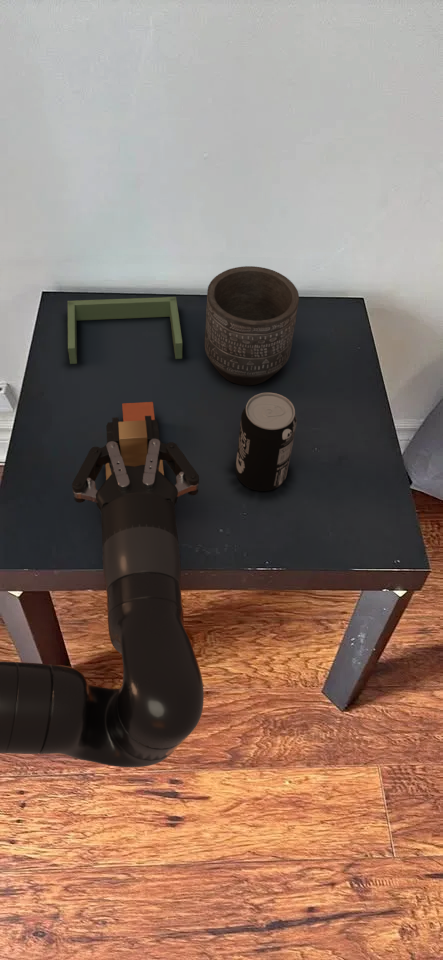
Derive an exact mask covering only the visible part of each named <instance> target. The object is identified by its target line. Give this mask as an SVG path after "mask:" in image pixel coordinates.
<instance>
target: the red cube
mask: <svg viewBox="0 0 443 960" xmlns="http://www.w3.org/2000/svg"><path fill="white" fill-rule="evenodd" d="M121 405H122V406H121V408H122V422H124V421H142V420H145V416H151V420H156V419H155V418H156V417H155V409H154V408H155V406H154V402H153V401H141V402H126V403H125V402H124V403H122V404H121Z"/></svg>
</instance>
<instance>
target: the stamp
mask: <svg viewBox="0 0 443 960" xmlns="http://www.w3.org/2000/svg"><path fill="white" fill-rule="evenodd" d="M118 426H119V442H120V454H121V456H122V459H123V462H124V465H125V466H133V467H136V466H140V465H145V463H146V456H147V453H148V442H147V428H146V420H142V421H124V422H123V421H119V422H118ZM159 471H160V472H161V473H162V474H163V475H164V476H165V472H164V471H165V469H164V460H160V464H159ZM111 474H112V473H111V469H110V466H109V463H107V464H105V481H106V480H107V479H108V478H109V477H110V475H111Z"/></svg>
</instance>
